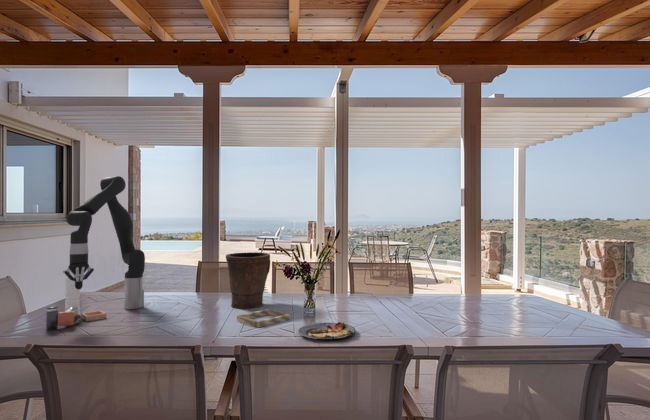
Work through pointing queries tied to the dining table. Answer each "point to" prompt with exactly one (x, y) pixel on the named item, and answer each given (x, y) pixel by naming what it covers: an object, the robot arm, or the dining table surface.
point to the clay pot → (247, 278)
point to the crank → (68, 316)
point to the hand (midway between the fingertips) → (78, 289)
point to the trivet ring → (247, 320)
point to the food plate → (327, 330)
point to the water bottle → (72, 294)
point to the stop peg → (52, 318)
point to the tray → (93, 315)
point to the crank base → (78, 321)
